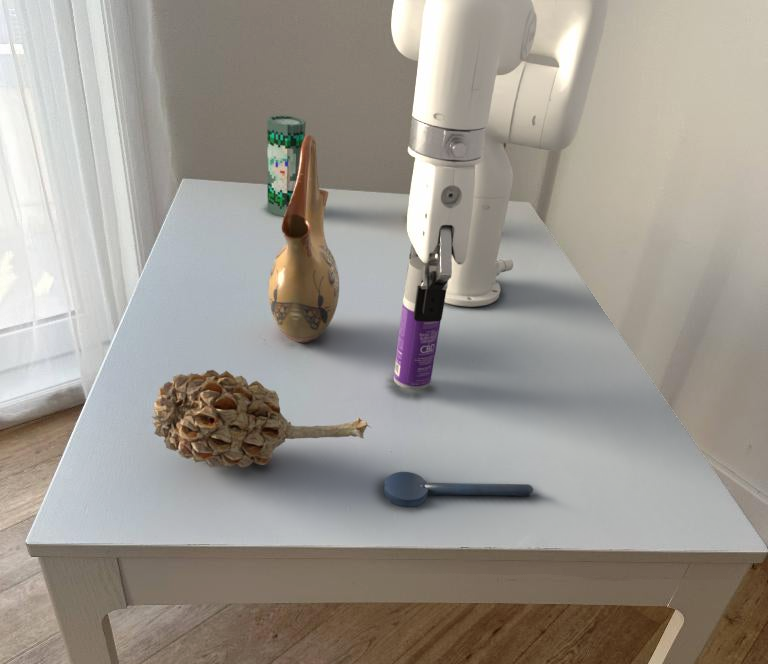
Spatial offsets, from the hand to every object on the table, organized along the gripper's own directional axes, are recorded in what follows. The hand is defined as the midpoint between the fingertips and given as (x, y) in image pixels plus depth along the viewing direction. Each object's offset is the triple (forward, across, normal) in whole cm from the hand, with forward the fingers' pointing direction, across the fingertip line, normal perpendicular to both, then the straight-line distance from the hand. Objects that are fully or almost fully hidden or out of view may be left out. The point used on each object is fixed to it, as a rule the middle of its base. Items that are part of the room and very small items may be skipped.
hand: (422, 307), depth 85 cm
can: (+11, +60, +12) cm, 62 cm away
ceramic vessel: (+11, +13, +12) cm, 21 cm away
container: (+10, 0, 0) cm, 10 cm away
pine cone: (+11, -14, +19) cm, 26 cm away
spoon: (+11, -21, 0) cm, 24 cm away
